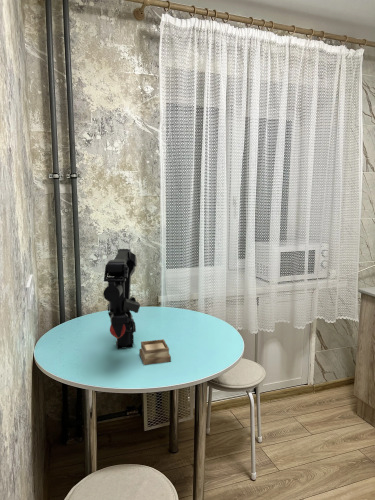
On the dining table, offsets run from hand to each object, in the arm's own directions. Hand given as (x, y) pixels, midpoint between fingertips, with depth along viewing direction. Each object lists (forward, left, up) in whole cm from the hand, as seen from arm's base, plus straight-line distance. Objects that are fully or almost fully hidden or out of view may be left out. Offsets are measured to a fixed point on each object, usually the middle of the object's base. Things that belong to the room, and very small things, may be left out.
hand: (117, 334), depth 142 cm
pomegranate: (0, 0, -2) cm, 2 cm away
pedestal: (+14, -1, -11) cm, 18 cm away
